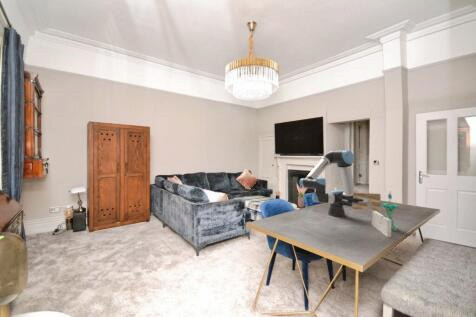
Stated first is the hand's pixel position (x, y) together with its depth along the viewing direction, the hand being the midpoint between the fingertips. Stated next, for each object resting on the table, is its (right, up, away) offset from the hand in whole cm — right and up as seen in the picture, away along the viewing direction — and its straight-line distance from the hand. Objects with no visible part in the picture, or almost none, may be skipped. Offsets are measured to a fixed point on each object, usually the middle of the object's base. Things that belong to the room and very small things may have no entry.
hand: (366, 200), depth 162 cm
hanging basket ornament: (+23, -24, +8) cm, 34 cm away
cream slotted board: (+12, -24, +3) cm, 27 cm away
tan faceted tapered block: (0, -7, 0) cm, 7 cm away
